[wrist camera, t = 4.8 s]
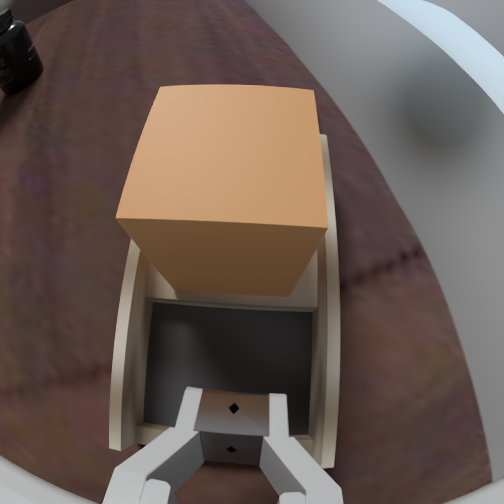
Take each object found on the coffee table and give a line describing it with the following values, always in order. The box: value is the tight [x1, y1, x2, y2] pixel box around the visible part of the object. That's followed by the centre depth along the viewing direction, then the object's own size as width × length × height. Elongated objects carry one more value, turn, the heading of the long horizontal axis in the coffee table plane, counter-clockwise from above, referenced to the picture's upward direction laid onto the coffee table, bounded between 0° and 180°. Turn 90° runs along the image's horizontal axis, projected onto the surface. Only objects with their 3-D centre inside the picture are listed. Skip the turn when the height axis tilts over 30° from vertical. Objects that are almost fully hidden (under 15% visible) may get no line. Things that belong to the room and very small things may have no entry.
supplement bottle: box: [0, 8, 43, 95], centre depth 21 cm, size 7×7×12 cm
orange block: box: [116, 85, 328, 297], centre depth 13 cm, size 6×6×8 cm
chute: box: [109, 134, 340, 468], centre depth 17 cm, size 25×10×4 cm, turn 177°
